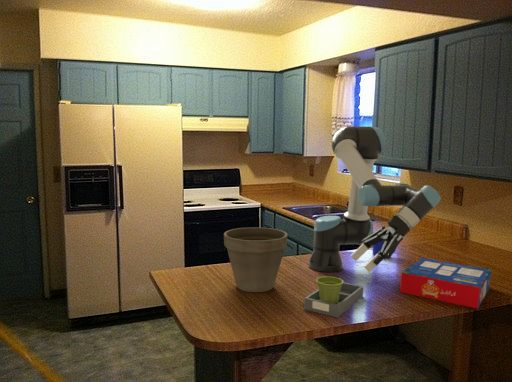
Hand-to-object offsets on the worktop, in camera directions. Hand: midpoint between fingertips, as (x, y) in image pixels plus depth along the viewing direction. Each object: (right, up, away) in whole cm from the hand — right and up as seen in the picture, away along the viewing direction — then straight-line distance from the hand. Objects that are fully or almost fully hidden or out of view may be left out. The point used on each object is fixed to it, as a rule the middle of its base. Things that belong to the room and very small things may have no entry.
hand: (359, 264), depth 163 cm
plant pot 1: (-37, -12, +21) cm, 44 cm away
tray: (-8, -15, +5) cm, 18 cm away
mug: (+28, -8, +72) cm, 77 cm away
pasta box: (+48, -9, +34) cm, 59 cm away
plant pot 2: (-11, -14, 0) cm, 18 cm away
